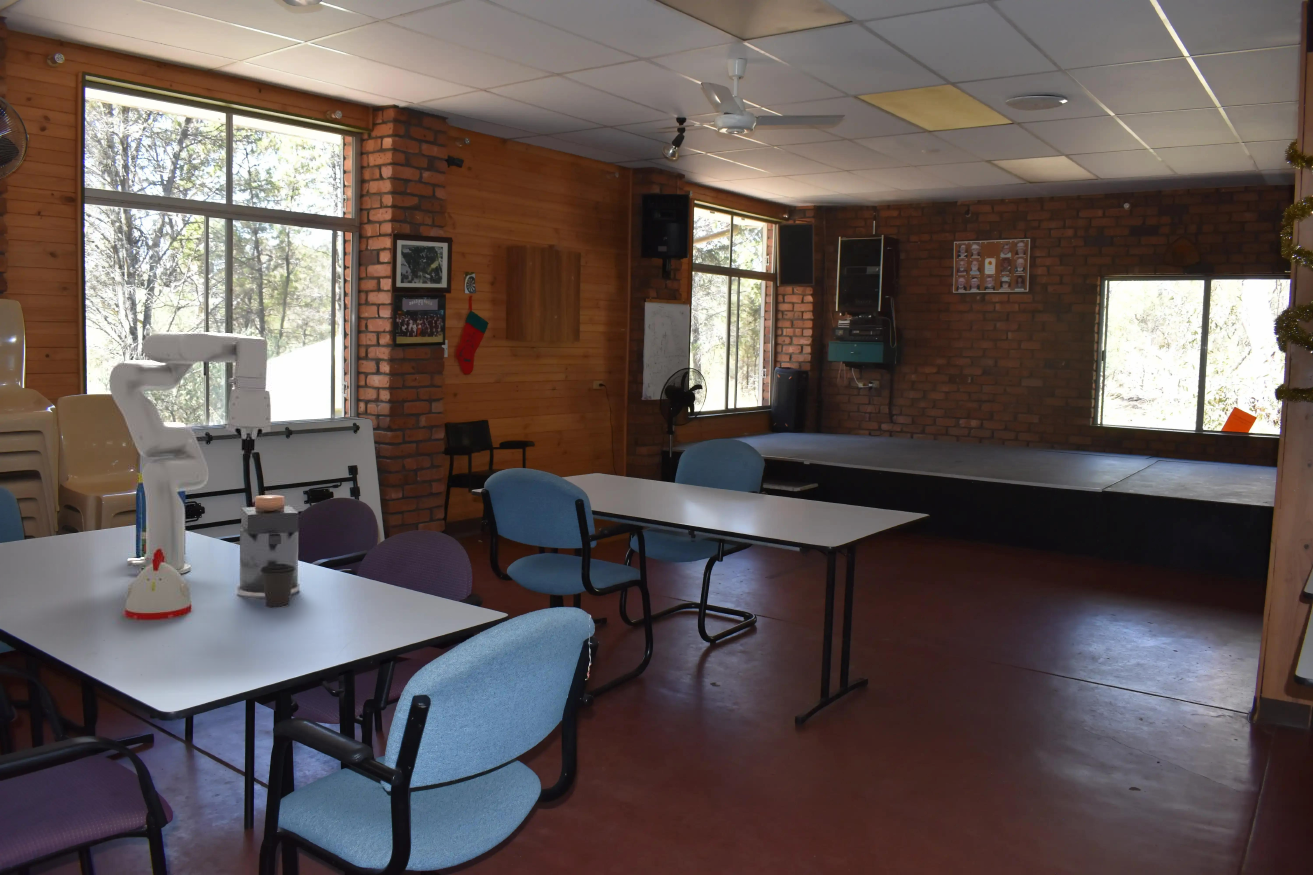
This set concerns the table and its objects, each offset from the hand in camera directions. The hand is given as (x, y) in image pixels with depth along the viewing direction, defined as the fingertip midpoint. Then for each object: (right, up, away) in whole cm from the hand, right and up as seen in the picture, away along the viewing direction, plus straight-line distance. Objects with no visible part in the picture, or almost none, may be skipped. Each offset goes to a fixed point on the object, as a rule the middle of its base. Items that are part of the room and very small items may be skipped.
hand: (247, 453), depth 252 cm
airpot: (+8, -36, -4) cm, 37 cm away
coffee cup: (+14, -37, -15) cm, 43 cm away
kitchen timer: (-10, -37, -26) cm, 46 cm away
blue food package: (-41, -31, +35) cm, 62 cm away
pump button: (+8, -19, -4) cm, 21 cm away
